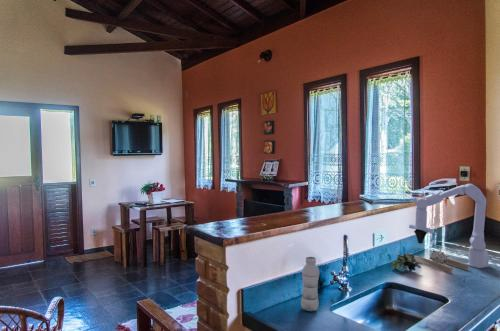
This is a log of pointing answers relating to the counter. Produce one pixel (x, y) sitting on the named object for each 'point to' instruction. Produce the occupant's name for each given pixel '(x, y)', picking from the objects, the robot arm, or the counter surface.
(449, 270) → the chute
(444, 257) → the beige textured ball
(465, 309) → the counter surface
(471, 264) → the robot arm
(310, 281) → the plastic bottle
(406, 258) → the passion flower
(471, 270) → the counter surface
